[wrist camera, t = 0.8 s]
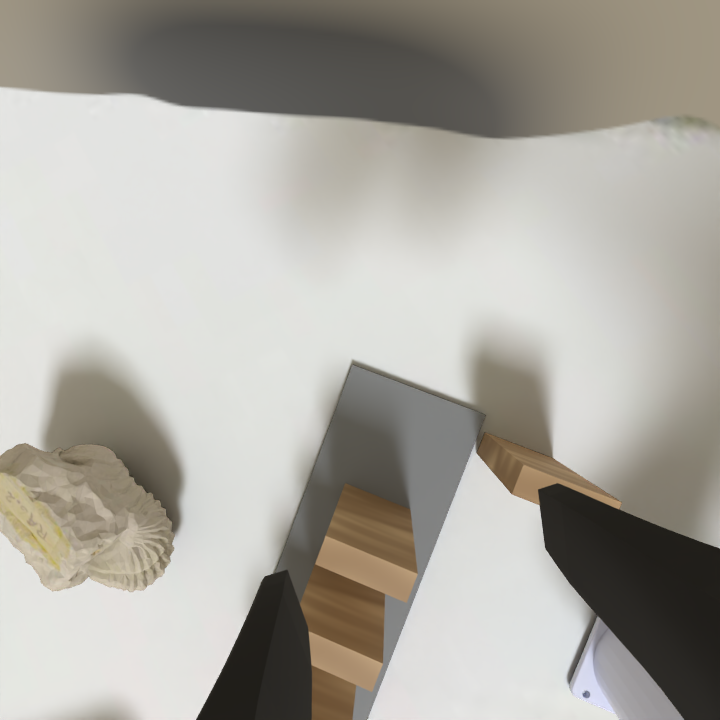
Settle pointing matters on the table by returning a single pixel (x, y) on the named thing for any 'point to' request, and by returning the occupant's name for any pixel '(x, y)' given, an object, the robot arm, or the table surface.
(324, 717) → the domino
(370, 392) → the slate mat
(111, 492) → the fossil replica
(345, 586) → the domino
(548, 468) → the domino
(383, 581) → the domino
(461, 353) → the table surface
